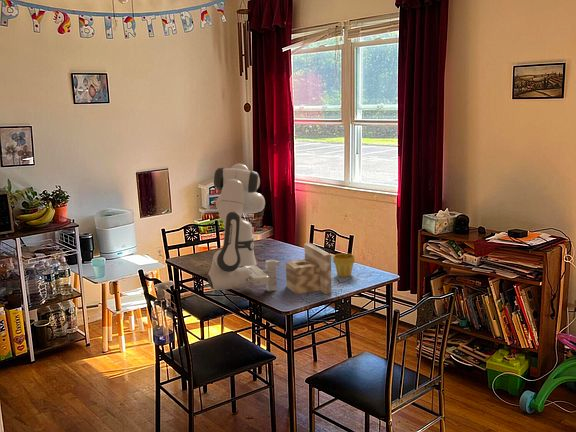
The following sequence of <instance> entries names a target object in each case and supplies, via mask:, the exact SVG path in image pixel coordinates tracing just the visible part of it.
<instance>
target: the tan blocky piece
mask: <svg viewBox="0 0 576 432" xmlns="http://www.w3.org/2000/svg"><path fill="white" fill-rule="evenodd" d="M303 245H304V259H299V260H298V259H297V260H292V261H290V260H289V261H285V274H286V275H285V277H286V278H285V279H286V280H285V281H286V287H287V288H288V289H289V290H290V291H291V292H292V293H294V294H295V295H299V294H306V293H312V292H318V291H320V292H322V293H323V294H324V295H329V294H332V293H333V292H332V291H333V290H332V287H333V286H332V254H330V253H329V252H327V251H325V250H323V249H322V248H320V247H318V246H316V245H314V244H313V243H311V242H309V243H304V244H303Z"/></svg>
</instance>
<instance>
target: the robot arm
mask: <svg viewBox="0 0 576 432" xmlns="http://www.w3.org/2000/svg"><path fill="white" fill-rule="evenodd" d="M212 182H213V186H214V188H215V189H218V191H220V195H219V196H218V197H217V199H216V201H215V208H216V210H217V211H218V216H219V219H220V220H221V221H222V223H223V225H224V233H223V245H222V248H221V249H219V250H216V251H215V252H214V254H213V256H212V259H211V260H212V261H211V266H210V269H209V272H208V273H207V275H206V276H207V278H206V279H207V282H208V285H209V287H210V288H211V289H212V290H214V291H224V290H231V289H234V288H237V289H239V288H246V287H247V288H248V287H250V285H251V284H252V286H264V285H265V286H266V285H267V284H269V278H271V277H274V276H275V274H274V273H273V272H271V273H269V274H266V271H265V269H261V268H260V267H258V266H257V264H258V263H257V259H256V257H255V251H254V248H255V247H254V246H255V245H254V238H253V237H254V236H253V225H252V223H251V222H249V221H248V220H245V219H244V218H242V216H243V215H245V214H246V215H248V214H255V213H259V212H262V211H263V210H264V208H265V206H266V200H265V197H264V195H262V193H259V192H257V191H258V189H259V188H260V185H261V179H260V174H259V173H258V172H257V171H254V170H249V168H248V167H247V166H246V164H244V163H236V164H234V165H232V166H231V167H230V168H229V167H228V168H226V167H219V168H217V169H216V170H215V171H214V174H213V176H212Z"/></svg>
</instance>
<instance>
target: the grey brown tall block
mask: <svg viewBox="0 0 576 432" xmlns="http://www.w3.org/2000/svg"><path fill="white" fill-rule="evenodd" d="M264 267H265V268H264V270H265V271H266V274H269V273H271V272H273V273H274V274H275V276H274V277H271V278H269V284H267V285H265V290H266V291H267V292H275V291H277V267H280V261H279V260H277V259H266V260H264Z"/></svg>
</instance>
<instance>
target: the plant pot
mask: <svg viewBox="0 0 576 432" xmlns="http://www.w3.org/2000/svg"><path fill="white" fill-rule="evenodd" d="M333 264H334V265H335V269H336V270H335V271H336V275H337V276H338V277H341V278H344V277H345V278H346V277H351V275H352V271H353V267H354V264H355V255H354V254H352V253H344V252H343V253H337V254H335V255H333Z"/></svg>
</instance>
